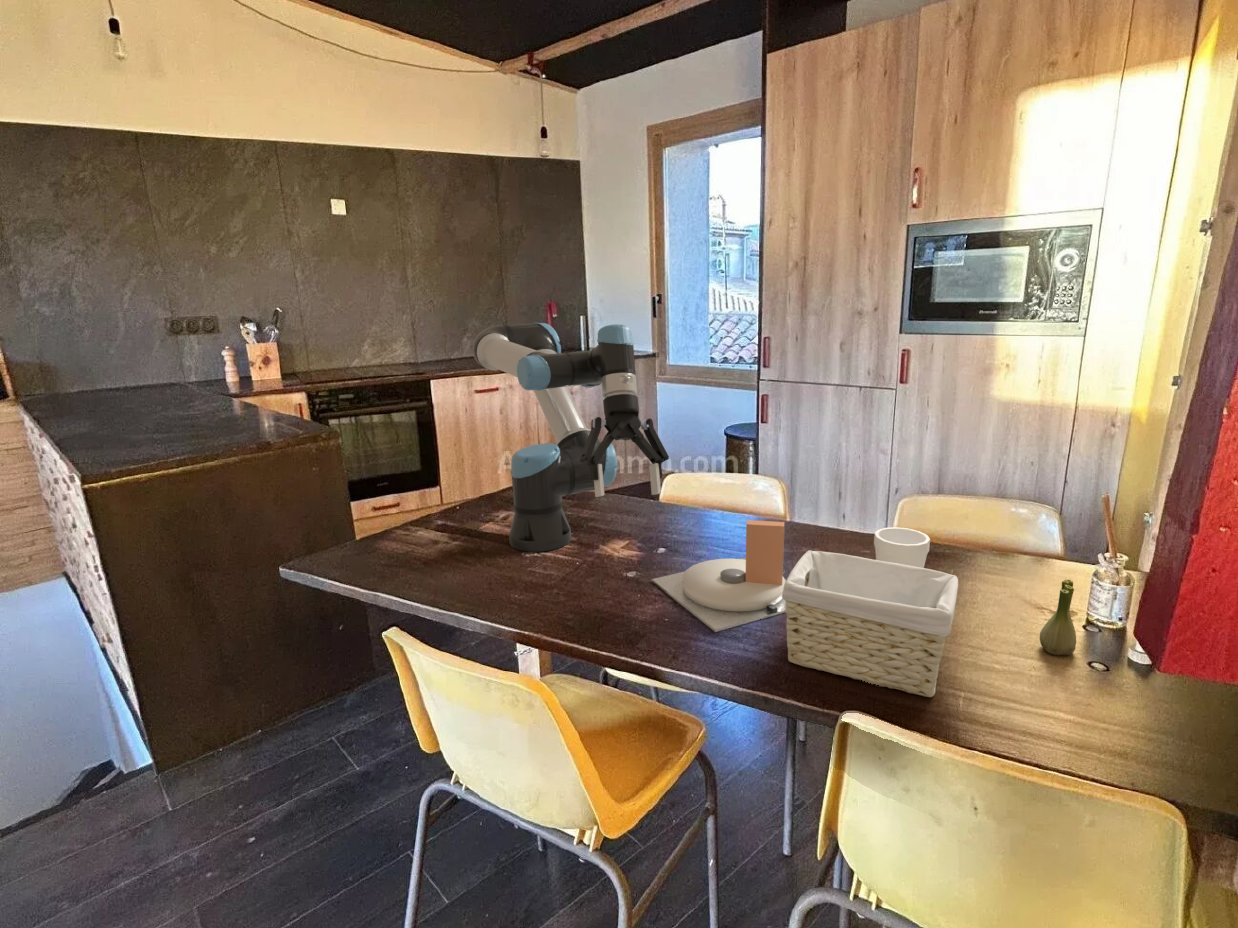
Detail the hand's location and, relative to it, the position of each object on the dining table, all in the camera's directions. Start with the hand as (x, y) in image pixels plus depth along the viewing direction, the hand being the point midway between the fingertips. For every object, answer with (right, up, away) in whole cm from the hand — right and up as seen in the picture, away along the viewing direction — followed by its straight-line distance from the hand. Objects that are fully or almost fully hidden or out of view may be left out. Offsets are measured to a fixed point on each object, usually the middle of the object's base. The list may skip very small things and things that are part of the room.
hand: (628, 495), depth 138 cm
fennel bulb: (+69, -24, -31) cm, 79 cm away
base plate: (+21, -19, -7) cm, 29 cm away
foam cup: (+51, -20, -13) cm, 56 cm away
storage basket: (+38, -25, -32) cm, 56 cm away
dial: (+21, -19, -7) cm, 29 cm away
